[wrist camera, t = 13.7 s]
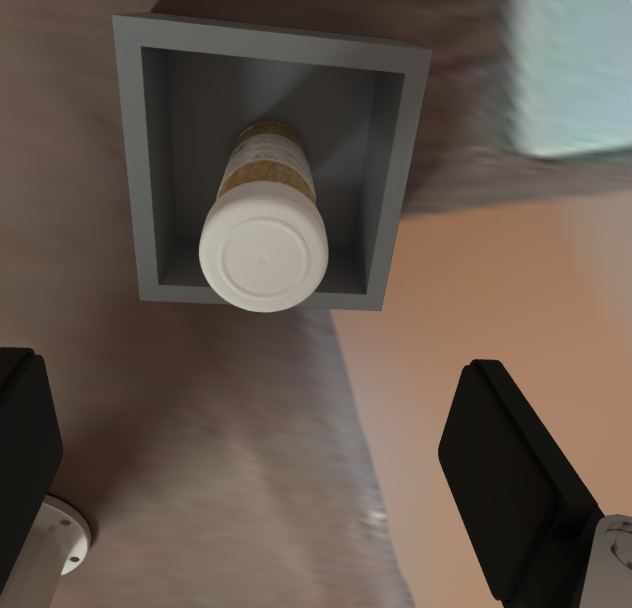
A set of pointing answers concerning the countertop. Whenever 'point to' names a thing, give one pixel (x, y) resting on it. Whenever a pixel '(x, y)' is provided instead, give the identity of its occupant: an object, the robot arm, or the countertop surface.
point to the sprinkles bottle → (265, 223)
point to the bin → (255, 106)
